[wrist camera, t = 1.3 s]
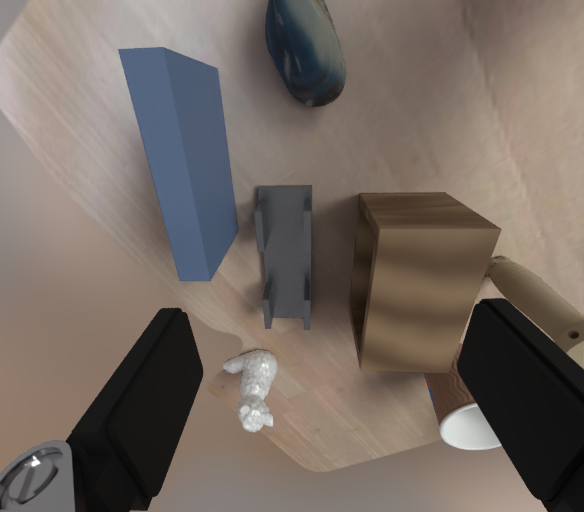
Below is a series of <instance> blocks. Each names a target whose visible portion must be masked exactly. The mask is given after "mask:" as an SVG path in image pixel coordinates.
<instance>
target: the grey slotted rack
mask: <svg viewBox="0 0 584 512" xmlns="http://www.w3.org/2000/svg"><path fill="white" fill-rule="evenodd" d="M258 195H259V203H258V205H257V207H256V209H255V211H254V217H255V228H256V238H257V249H258V252H263V254H264V265H265V277H266V287H265V291H264V295H263V299H262V301H263V311H264V322H265V329H271V325H272V320H273V317H274V318H304V330H310V318H311V228H312V185H301V186H259V187H258Z"/></svg>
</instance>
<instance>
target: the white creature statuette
mask: <svg viewBox="0 0 584 512" xmlns="http://www.w3.org/2000/svg"><path fill="white" fill-rule="evenodd" d="M277 364H278V363H277V360H276V358H275V356H274V355H273V354H271V353H270V352H269V351H264V350H258V349H257V350H256V351H254V350H253V351H252V352H249V353H245V354H243V355H238V356H237V357H234V358H231V359H228V360H227V361H225V362H224V363H223V369H224V370H226V372H228V373H232V374H234V373H238V372H240V371H242V370H243V372H242V375H243V377H242V378H241V383H240V384H239V385H238V388H239V389H240V391H241V398H242V401H241V402H239V407H238V408H237V411H238V417H239V420H240V421H241V422H242V424H243V428H244V429H245V430H247V431H248V432H250V431H252V432H253V433H254V432H255V431H259V430H260V429H261V428H262V426H263V424H264V425H267V426H273V416H272V415H271V414H269V408H267V406H266V405H265V402H264V401H263V400H264V398H265V396H267V395H268V391H269V390H270V386H271V383H272V381H273V380H274V379H275V376H276V373H277V370H278V366H277Z"/></svg>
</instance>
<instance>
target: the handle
mask: <svg viewBox="0 0 584 512" xmlns="http://www.w3.org/2000/svg"><path fill="white" fill-rule="evenodd" d="M485 273H486V275H487V276H488V277H490V278H491V280H492V282H493V283H494V285H495V286H496V287H497V289H498V290H499V291H500V292H501V293H502V294H503V295H504V296H505V297H506V298H507V299H508V300H509V301H510V302H511V303H512V304H513V305H514V306H516V307H517V308H518V309H519V310H520V311H522V312H523V313H524V314H525V315H526V316H527V317H529V318H530V319H531V320H532V321H533V322H534V323H536V324H537V325H538V326H539V327H540V328H541V329H542V330H544V331H545V332H546V333H547V334H548V335H549V336H550V337H551V338H552V339H553V340H554V343H555V344H556V345H558V346H559V347H560V348H561V349H562V350H563V351H564V352H565V353H566V354H568V355H569V356H570V357H571V358H572V359H573V360H574V361H575V362H576V363H578V364H579V365H580V366H581V367H582V368H583V369H584V315H582V314H581V313H580V312H579V311H578V310H576V309H575V308H574V307H573V306H572V305H571V304H569V303H568V302H567V301H566V300H565V299H564V298H562V297H561V296H560V295H559V294H558V293H557V292H556V291H555V290H553V289H552V288H551V287H550V286H549V285H548V284H547V283H546V282H544V281H543V280H542V279H541V278H539V277H538V276H537V275H536V274H534V273H533V272H531V271H530V270H528V269H526V268H525V267H523V266H521V265H519V264H517V263H515V262H512V261H510V259H509V258H507V257H505V256H499V257H498V258H495V259H490V261H489V264H488V267H487V270H486V272H485Z"/></svg>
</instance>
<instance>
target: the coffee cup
mask: <svg viewBox="0 0 584 512" xmlns="http://www.w3.org/2000/svg"><path fill="white" fill-rule="evenodd" d="M462 345H463V344H462V343H460V342H459V345H458V348H457V350H456V353H455V356H454V359H453V361H452V364H451V367H450V369H449V372H448V373H428V372H424V373H425V379H426V382H427V386H428V389H429V392H430V396H431V399H432V402H433V406H434V409H435V412H436V416H437V419H438V422H439V426H440V427H439V433H440V436H441V438H442V439H443V440H444V441H445V442H446V443H448V444H449V445H451V446H453V447H456V448H460V449H467V450H483V449H490V448H495V447H498V446H501V443H500V442H499V440H498V438H497V437H496V435H495V433H494V432H493V430H492V428H491V427H490V425H489V423H488V422H487V420H486V418H485V417H484V415H483V413H482V412H481V410H480V408H479V407H478V405H477V404H476V402H475V400H474V399H473V397H472V395H471V394H470V392H469V390H468V389H467V387H466V385H465V384H464V382H463V380H462V379H461V377H460V375H459V373H458V370H457V362H458V359H459V355H460V352H461V349H462Z"/></svg>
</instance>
